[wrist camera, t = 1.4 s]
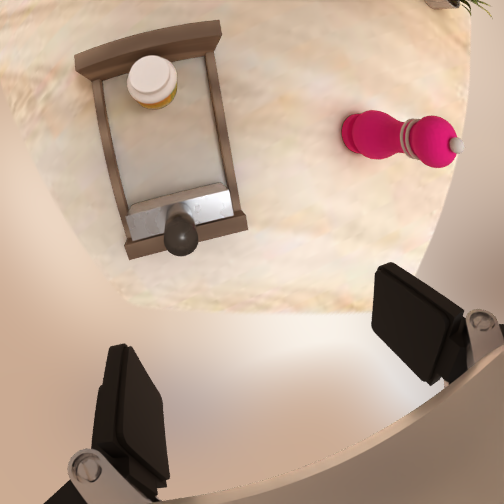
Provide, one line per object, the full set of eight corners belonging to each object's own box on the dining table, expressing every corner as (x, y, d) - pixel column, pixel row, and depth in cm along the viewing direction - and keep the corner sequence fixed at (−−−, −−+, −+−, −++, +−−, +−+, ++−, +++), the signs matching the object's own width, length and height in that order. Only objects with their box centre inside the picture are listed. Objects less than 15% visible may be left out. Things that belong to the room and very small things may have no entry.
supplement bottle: (179, 105, 32) (180, 93, 23) (137, 114, 31) (124, 105, 22) (174, 67, 29) (174, 44, 21) (133, 76, 28) (119, 55, 20)
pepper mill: (379, 149, 41) (480, 171, 23) (345, 161, 40) (448, 189, 22) (369, 107, 38) (473, 108, 20) (332, 116, 37) (439, 117, 19)
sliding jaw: (132, 204, 35) (110, 241, 22) (220, 182, 37) (246, 206, 24) (138, 225, 36) (121, 272, 23) (224, 203, 38) (251, 238, 25)
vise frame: (92, 64, 26) (73, 47, 19) (209, 36, 28) (218, 12, 21) (134, 251, 37) (126, 278, 30) (241, 224, 40) (257, 244, 33)
